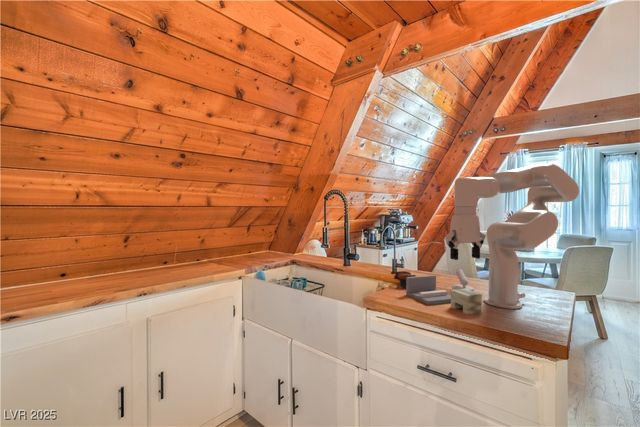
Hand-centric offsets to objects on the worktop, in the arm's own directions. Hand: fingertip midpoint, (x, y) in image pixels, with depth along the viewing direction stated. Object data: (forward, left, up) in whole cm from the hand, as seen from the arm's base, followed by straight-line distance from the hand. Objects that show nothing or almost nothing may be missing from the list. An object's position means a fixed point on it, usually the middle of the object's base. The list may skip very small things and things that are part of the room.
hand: (465, 258), depth 106 cm
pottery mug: (+2, -33, -19) cm, 38 cm away
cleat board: (+3, -14, -19) cm, 24 cm away
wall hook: (-16, -17, -19) cm, 30 cm away
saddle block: (0, +1, -19) cm, 19 cm away
